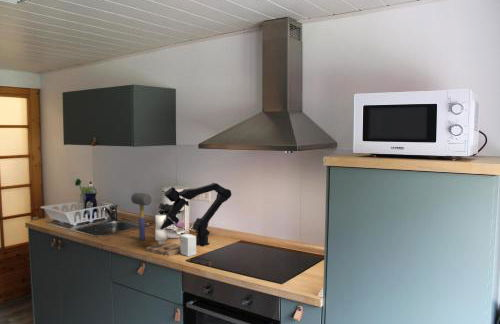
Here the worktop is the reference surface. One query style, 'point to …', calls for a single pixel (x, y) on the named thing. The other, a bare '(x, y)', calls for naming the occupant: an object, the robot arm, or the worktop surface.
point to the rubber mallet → (141, 210)
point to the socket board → (165, 249)
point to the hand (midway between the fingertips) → (158, 227)
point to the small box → (188, 245)
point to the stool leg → (160, 234)
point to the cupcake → (179, 224)
